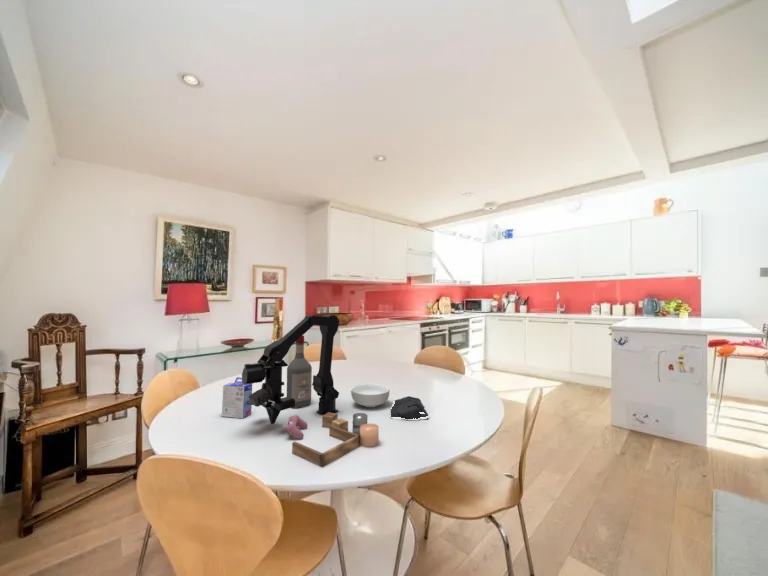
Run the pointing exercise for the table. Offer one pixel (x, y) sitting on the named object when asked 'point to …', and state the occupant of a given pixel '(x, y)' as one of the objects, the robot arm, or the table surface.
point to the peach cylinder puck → (369, 435)
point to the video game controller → (296, 426)
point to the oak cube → (340, 423)
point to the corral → (333, 453)
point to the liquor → (299, 377)
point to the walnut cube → (328, 419)
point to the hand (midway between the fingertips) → (272, 423)
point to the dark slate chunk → (408, 408)
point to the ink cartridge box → (236, 399)
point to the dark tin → (359, 422)
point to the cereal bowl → (370, 394)
